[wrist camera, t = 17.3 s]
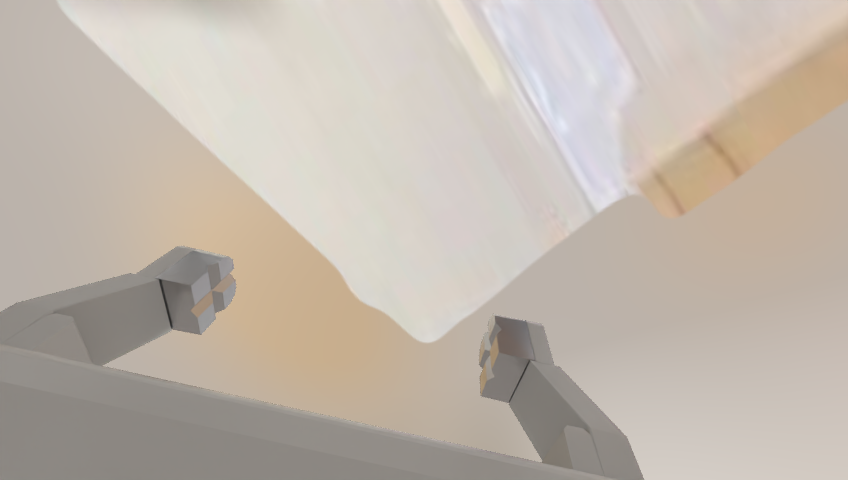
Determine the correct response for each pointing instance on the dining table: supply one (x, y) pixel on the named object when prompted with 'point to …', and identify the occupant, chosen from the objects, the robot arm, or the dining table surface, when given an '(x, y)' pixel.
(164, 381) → the robot arm
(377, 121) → the dining table surface
